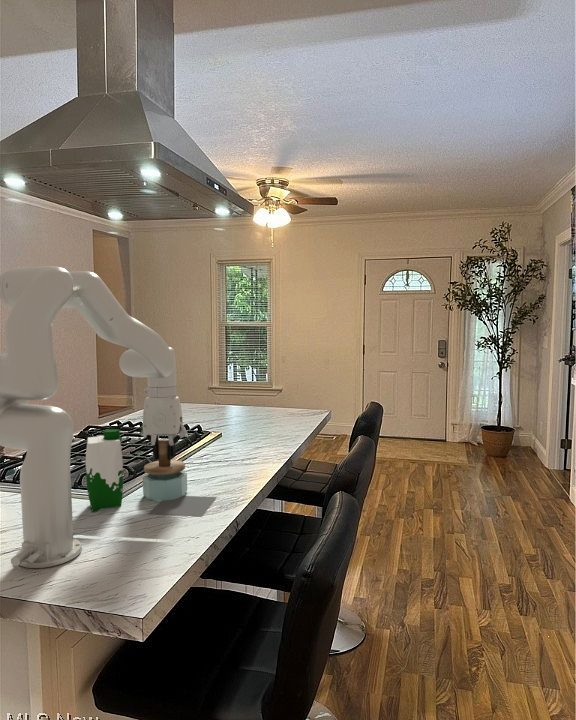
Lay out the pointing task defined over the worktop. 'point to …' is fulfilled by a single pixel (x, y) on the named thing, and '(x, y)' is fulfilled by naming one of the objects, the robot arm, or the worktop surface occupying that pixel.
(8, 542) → the worktop surface
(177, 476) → the bowl
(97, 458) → the soya milk
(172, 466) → the lid
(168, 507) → the mat
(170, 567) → the worktop surface
